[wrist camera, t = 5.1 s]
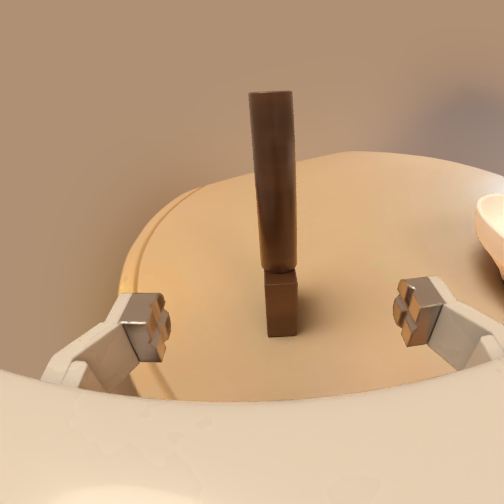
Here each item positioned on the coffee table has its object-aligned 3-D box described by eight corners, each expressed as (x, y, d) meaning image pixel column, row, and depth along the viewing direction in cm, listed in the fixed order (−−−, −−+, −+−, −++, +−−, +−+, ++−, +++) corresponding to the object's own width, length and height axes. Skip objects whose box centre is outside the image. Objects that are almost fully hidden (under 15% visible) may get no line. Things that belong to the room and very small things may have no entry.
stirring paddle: (299, 335, 23) (297, 90, 14) (265, 337, 23) (246, 93, 14) (293, 295, 27) (288, 90, 18) (264, 296, 27) (249, 92, 18)
